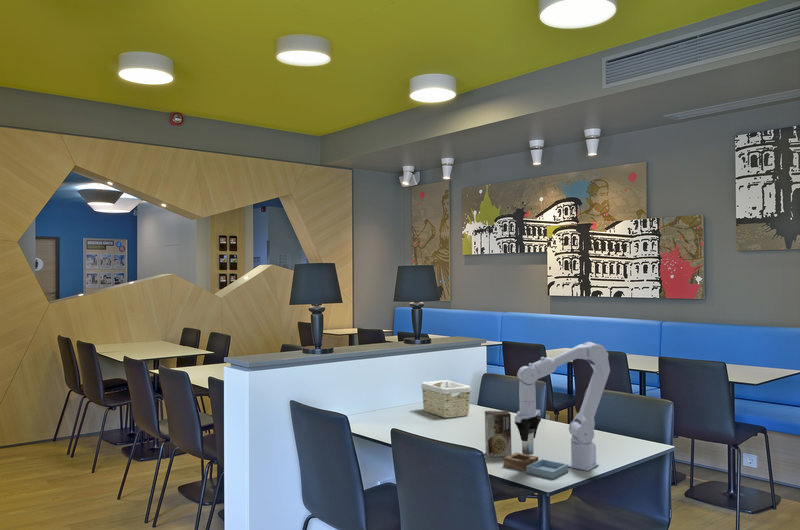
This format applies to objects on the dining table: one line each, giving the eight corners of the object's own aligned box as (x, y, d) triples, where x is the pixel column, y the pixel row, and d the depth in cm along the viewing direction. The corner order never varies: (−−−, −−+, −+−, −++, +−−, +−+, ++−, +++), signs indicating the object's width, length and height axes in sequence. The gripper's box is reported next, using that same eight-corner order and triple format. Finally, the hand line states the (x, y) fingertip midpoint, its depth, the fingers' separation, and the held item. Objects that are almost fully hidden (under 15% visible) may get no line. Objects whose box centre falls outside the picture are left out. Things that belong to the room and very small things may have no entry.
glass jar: (525, 450, 225) (525, 425, 225) (537, 452, 221) (537, 428, 222) (518, 453, 221) (518, 428, 221) (530, 455, 218) (530, 430, 218)
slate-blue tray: (542, 466, 223) (542, 459, 223) (568, 471, 216) (568, 464, 216) (526, 473, 214) (526, 466, 215) (552, 479, 208) (552, 471, 208)
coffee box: (508, 452, 241) (507, 410, 242) (511, 456, 235) (511, 413, 235) (484, 452, 241) (484, 410, 241) (487, 457, 234) (487, 414, 235)
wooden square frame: (516, 460, 230) (516, 452, 230) (538, 465, 224) (538, 456, 224) (503, 466, 223) (503, 457, 223) (525, 471, 217) (525, 462, 217)
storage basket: (420, 410, 319) (419, 381, 319) (447, 407, 326) (447, 379, 327) (444, 419, 298) (443, 388, 298) (472, 416, 305) (472, 385, 305)
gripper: (528, 396, 230) (528, 433, 229) (506, 402, 219) (507, 441, 219) (545, 398, 225) (546, 436, 225) (524, 405, 214) (525, 444, 214)
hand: (528, 439), depth 221 cm, fingers closed on glass jar, 5 cm apart
